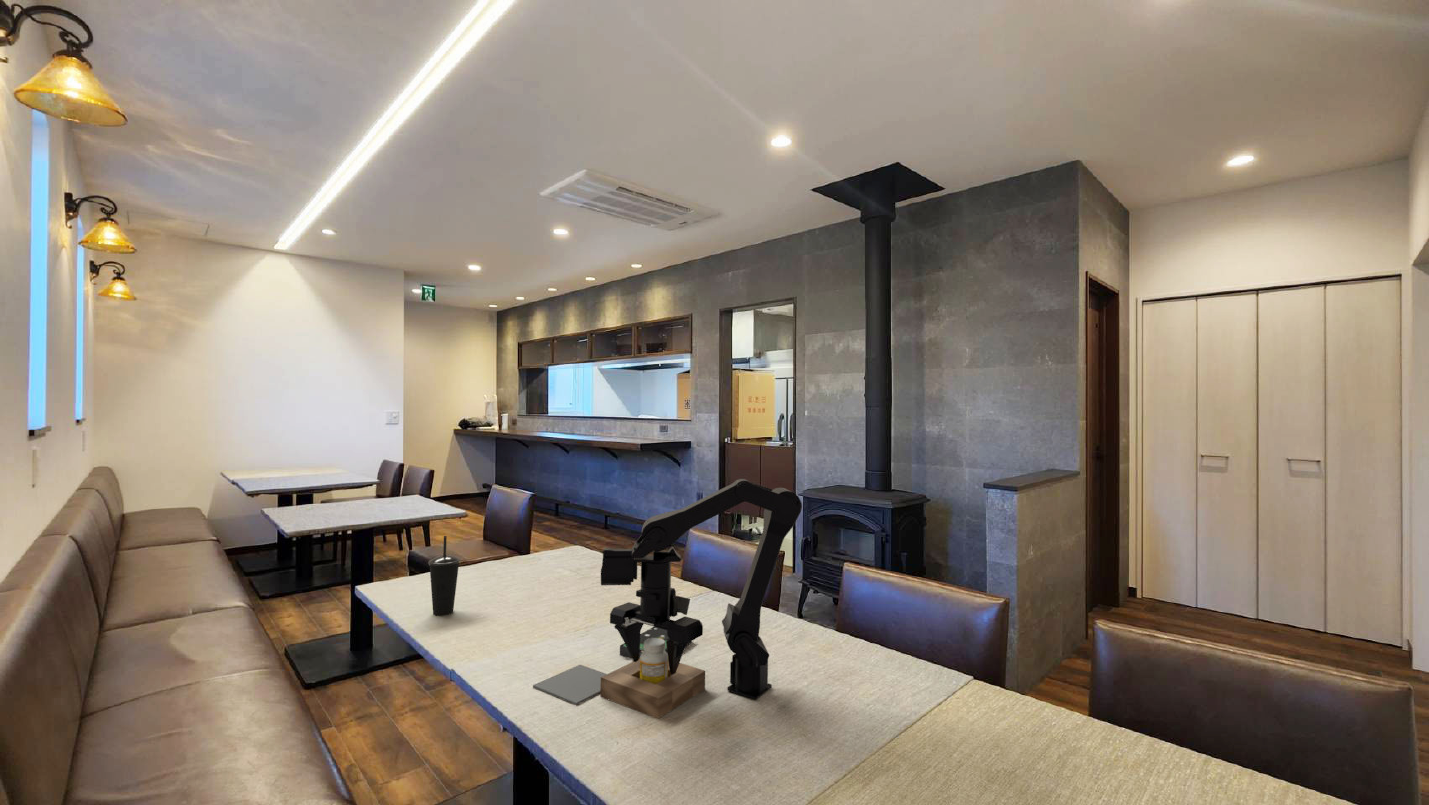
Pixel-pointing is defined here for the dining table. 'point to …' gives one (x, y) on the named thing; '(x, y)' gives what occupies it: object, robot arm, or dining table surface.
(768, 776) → the dining table surface
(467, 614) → the dining table surface
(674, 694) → the socket block
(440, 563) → the drinking cup
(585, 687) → the rubber mat
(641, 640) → the disk drive
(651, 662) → the supplement bottle
